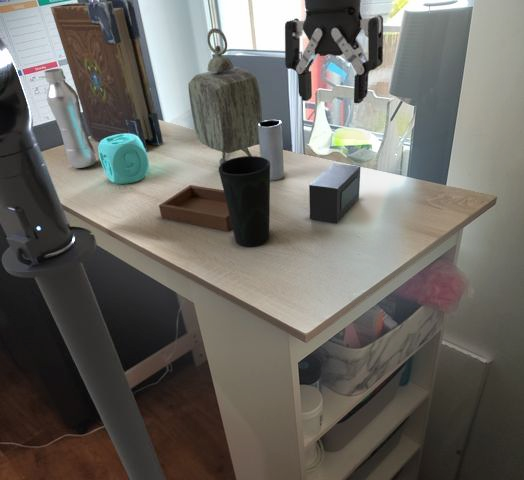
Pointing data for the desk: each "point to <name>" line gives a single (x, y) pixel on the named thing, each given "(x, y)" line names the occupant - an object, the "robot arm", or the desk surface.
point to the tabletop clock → (225, 104)
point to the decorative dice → (123, 158)
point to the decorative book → (108, 68)
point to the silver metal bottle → (69, 120)
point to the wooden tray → (198, 208)
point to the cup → (247, 198)
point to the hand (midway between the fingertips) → (332, 100)
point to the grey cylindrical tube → (272, 146)
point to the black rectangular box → (334, 193)
